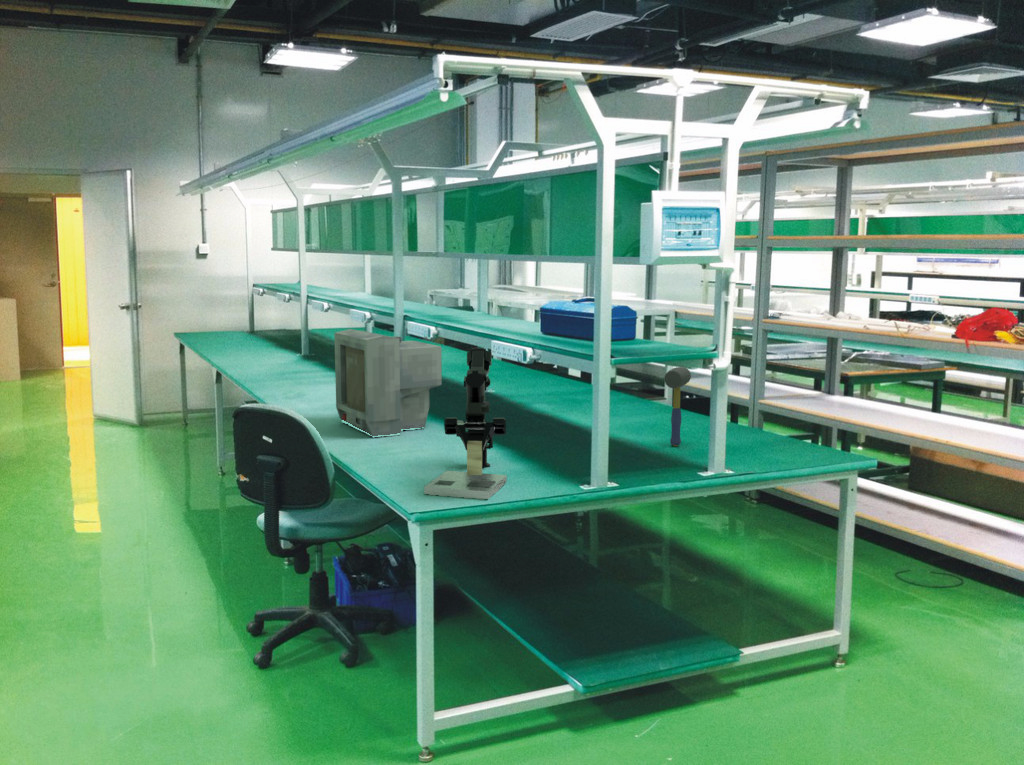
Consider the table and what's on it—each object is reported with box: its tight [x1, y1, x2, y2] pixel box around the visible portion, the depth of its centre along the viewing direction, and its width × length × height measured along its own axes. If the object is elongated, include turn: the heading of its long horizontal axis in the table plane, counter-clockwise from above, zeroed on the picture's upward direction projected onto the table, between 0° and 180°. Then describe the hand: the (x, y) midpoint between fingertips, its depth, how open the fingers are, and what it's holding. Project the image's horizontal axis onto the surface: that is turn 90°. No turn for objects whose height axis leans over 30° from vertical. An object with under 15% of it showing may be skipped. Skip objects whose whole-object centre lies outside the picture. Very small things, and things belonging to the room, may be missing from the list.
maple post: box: [466, 441, 483, 475], centre depth 261 cm, size 4×4×10 cm
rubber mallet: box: [663, 366, 692, 447], centre depth 326 cm, size 12×8×30 cm, turn 152°
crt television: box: [333, 328, 443, 436], centre depth 359 cm, size 39×36×40 cm
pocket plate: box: [423, 470, 508, 500], centre depth 266 cm, size 20×20×3 cm
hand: (474, 449), depth 259 cm, fingers closed on maple post, 4 cm apart
